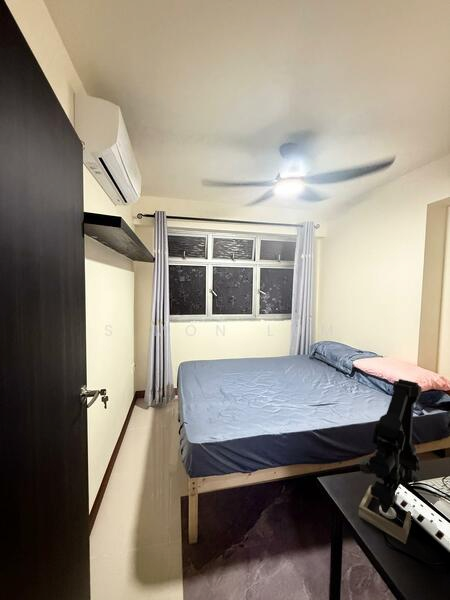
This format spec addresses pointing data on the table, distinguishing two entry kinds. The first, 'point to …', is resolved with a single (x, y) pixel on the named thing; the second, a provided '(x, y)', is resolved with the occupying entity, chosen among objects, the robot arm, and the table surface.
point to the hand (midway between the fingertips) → (387, 503)
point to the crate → (384, 520)
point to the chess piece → (388, 513)
